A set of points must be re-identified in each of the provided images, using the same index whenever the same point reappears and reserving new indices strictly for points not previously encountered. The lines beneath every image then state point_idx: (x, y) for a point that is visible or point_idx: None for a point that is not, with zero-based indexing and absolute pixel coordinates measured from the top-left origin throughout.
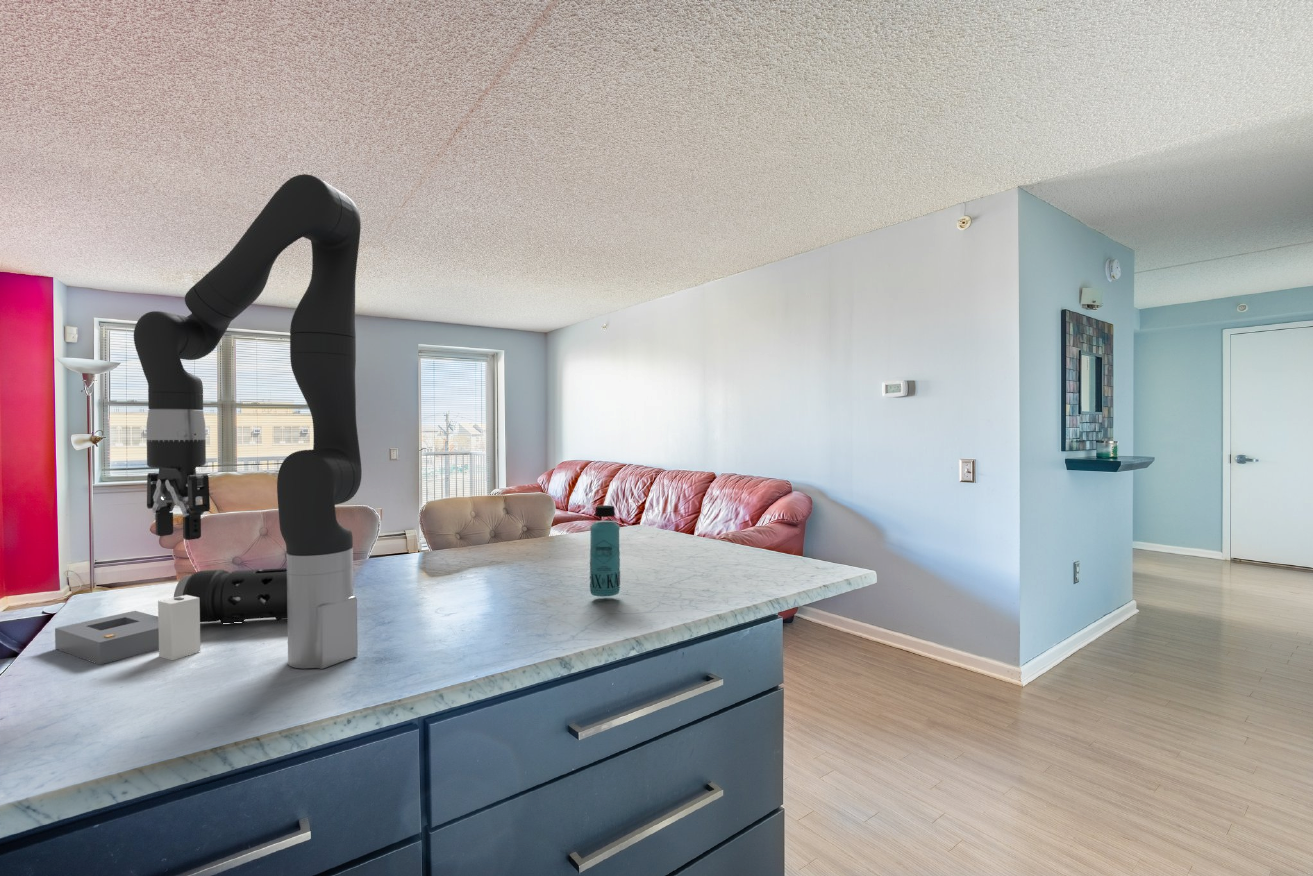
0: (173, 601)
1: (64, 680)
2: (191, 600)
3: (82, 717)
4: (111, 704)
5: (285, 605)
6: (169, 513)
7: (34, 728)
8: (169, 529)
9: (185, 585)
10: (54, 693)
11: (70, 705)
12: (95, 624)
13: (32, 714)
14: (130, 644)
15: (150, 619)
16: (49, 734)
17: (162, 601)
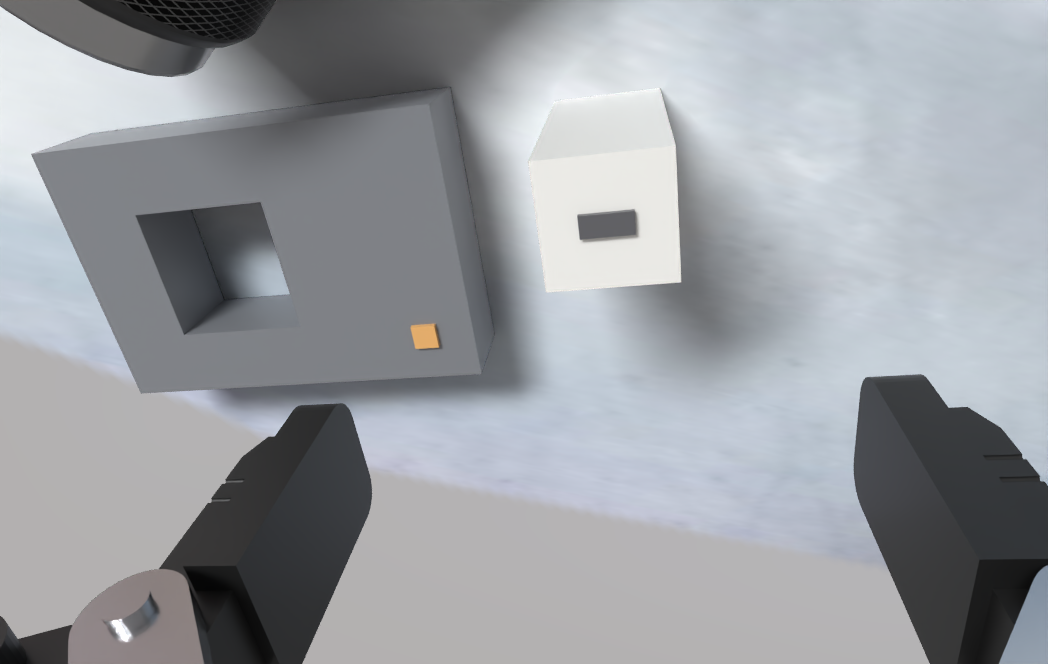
0: (636, 257)
1: (566, 422)
2: (675, 185)
3: None
4: None
5: None
6: (257, 591)
7: None
8: (335, 455)
9: (142, 29)
10: (666, 461)
11: (815, 467)
12: (173, 306)
13: (790, 521)
14: (471, 274)
15: (259, 167)
16: None
17: (580, 285)
